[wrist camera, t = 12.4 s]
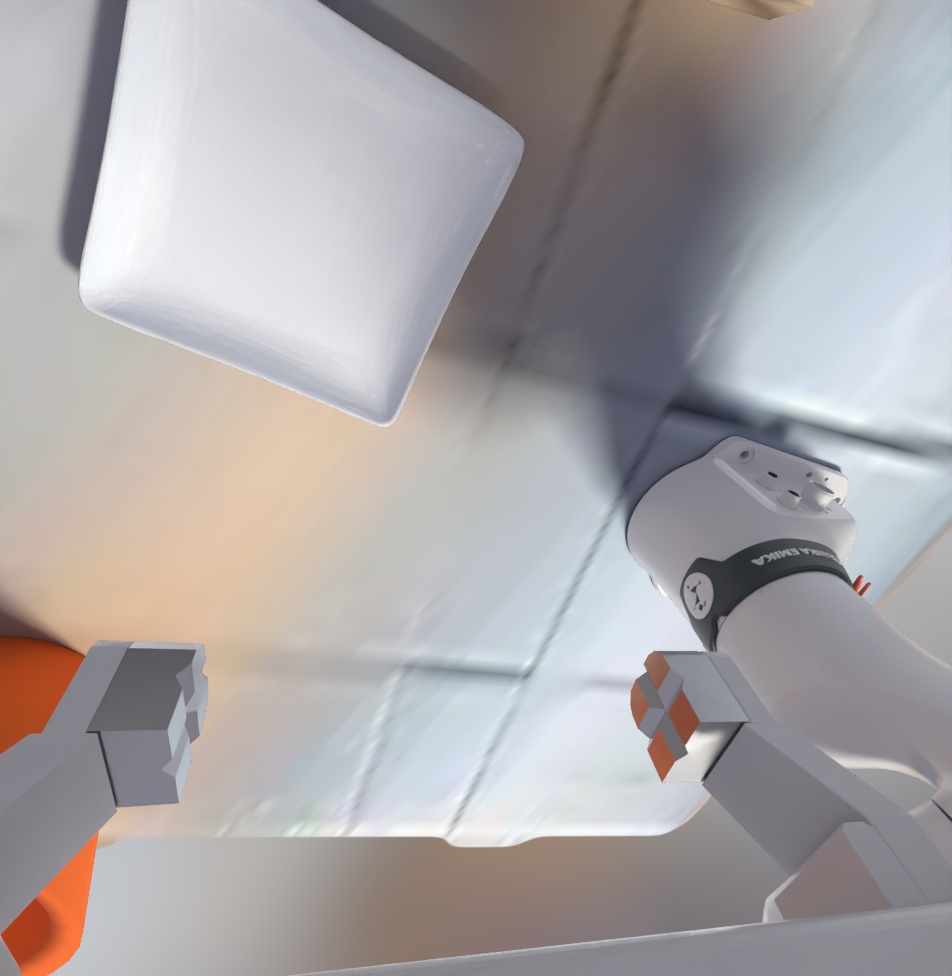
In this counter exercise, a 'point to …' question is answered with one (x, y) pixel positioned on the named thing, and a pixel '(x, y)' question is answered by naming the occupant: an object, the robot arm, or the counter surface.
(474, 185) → the salad plate
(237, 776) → the counter surface
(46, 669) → the flowerpot
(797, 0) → the tan wooden shallow frame
